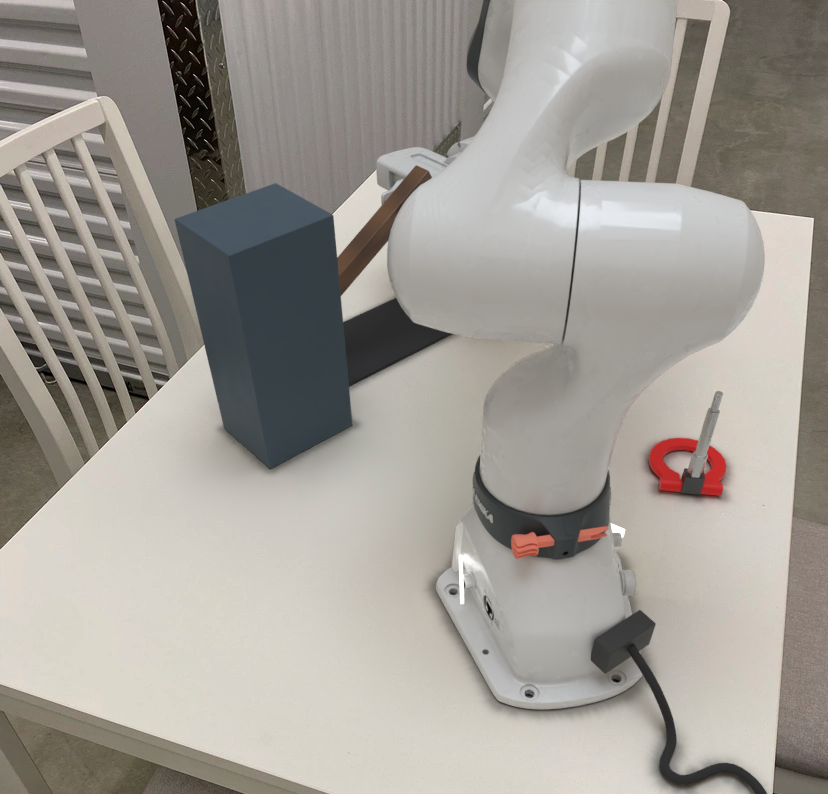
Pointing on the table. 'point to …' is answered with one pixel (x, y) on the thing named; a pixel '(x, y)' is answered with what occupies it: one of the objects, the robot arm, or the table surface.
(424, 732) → the table surface
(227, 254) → the stand
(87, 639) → the table surface
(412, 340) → the mat
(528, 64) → the robot arm
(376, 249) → the hanger bar
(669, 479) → the tow hook
